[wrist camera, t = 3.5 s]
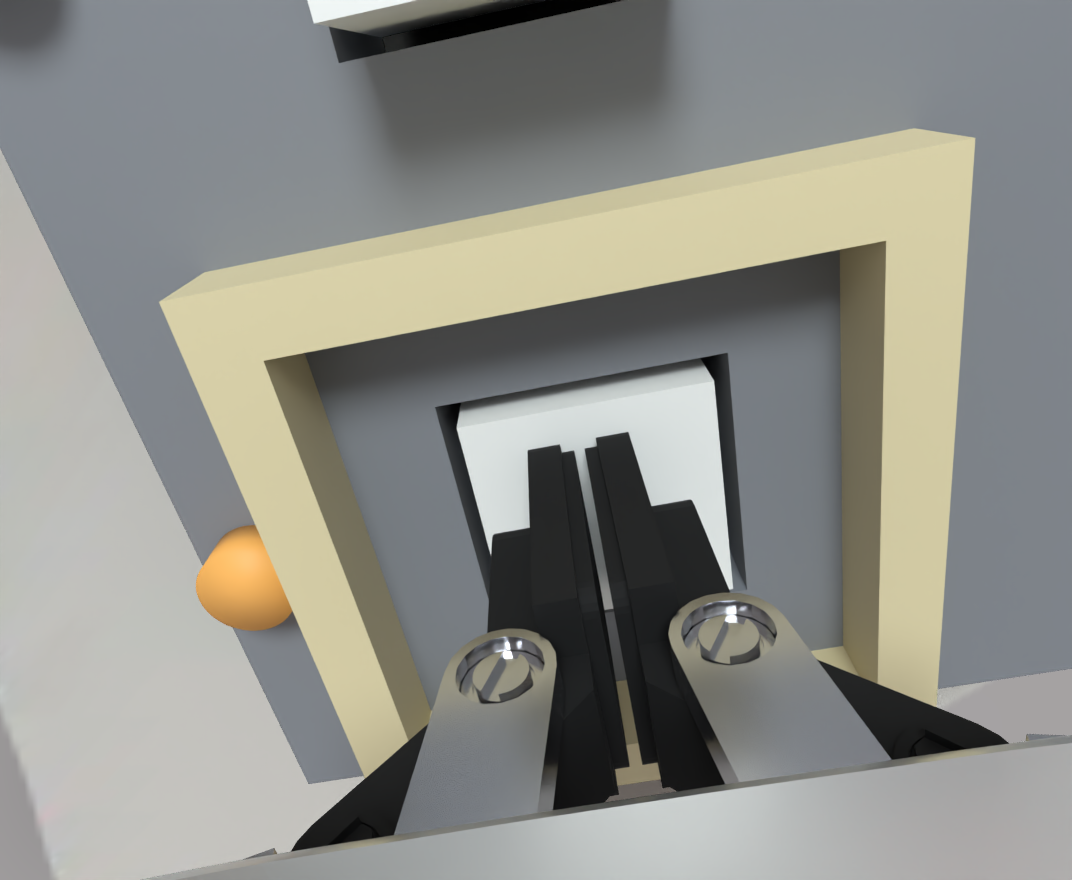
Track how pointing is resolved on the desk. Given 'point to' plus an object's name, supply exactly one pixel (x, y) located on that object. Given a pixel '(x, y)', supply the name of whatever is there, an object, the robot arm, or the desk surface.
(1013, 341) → the gray panel board
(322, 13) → the block
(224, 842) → the desk surface
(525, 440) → the block
